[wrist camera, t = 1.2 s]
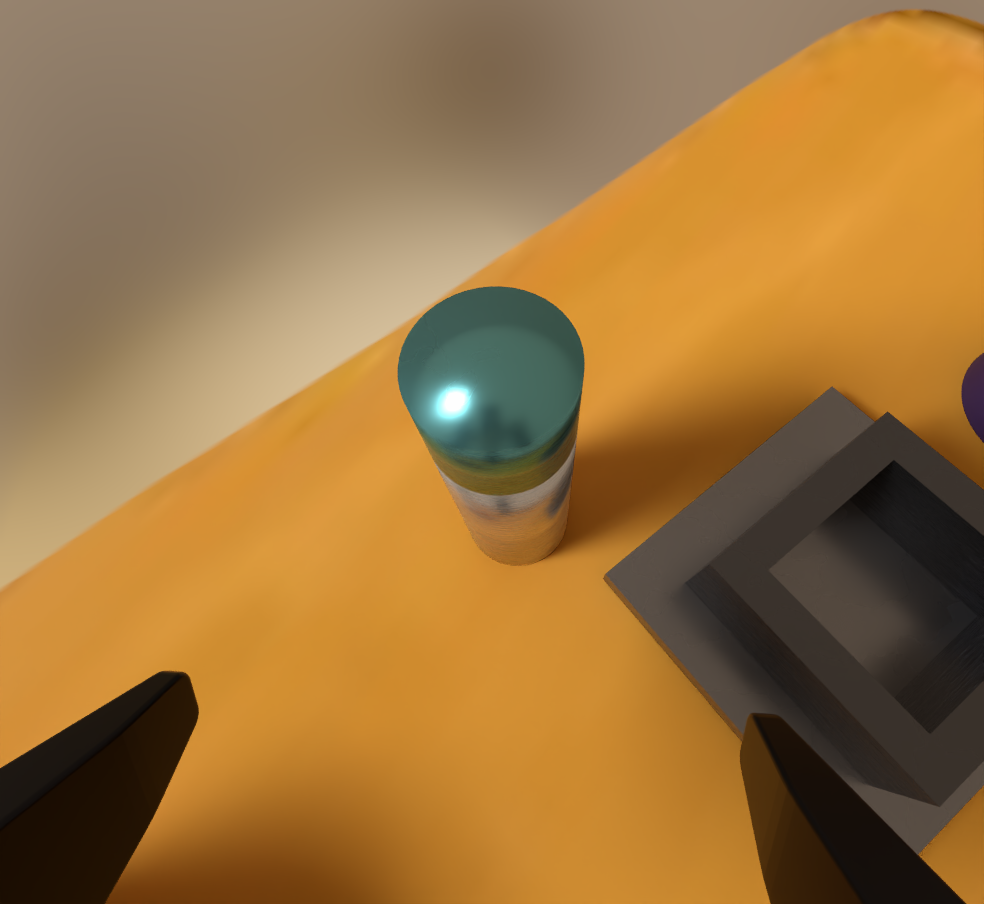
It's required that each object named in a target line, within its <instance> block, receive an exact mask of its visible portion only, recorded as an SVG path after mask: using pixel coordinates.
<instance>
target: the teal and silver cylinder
mask: <svg viewBox="0 0 984 904" xmlns="http://www.w3.org/2000/svg"><path fill="white" fill-rule="evenodd" d="M583 377H584V353H583V347H582V344H581V341H580V338H579V336H578V334H577V331H576V329H575V328H574V326H573V325H572V323H571V322H570V320H569V319H568V318H567V317H566V316H565V315H564V313H563V312H562V311H561V310H559V309H558V308H557V307H556V306H555V305H553V304H552V303H550V302H549V301H547V300H546V299H544V298H542V297H540V296H538V295H536V294H533V293H530V292H527V291H525V290H520V289H516V288H510V287H483V288H476V289H472V290H467V291H464V292H461V293H458V294H456V295H453V296H451V297H449V298H447V299H445V300H443V301H442V302H440V303H438V304H437V305H435V306H434V307H433V308H431V309H430V310H429V311H428V312H426V313H425V314H424V315H423V316H422V317H421V318H420V319H419V320H418V322H417V323H416V324H415V325H414V327H413V328H412V329H411V331H410V333H409V334H408V336H407V338H406V340H405V342H404V344H403V347H402V350H401V353H400V357H399V363H398V382H399V389H400V392H401V395H402V398H403V401H404V403H405V405H406V407H407V409H408V411H409V413H410V415H411V417H412V419H413V421H414V423H415V425H416V427H417V429H418V431H419V432H420V434H421V436H422V438H423V440H424V442H425V444H426V446H427V448H428V450H429V452H430V454H431V456H432V458H433V460H434V462H435V464H436V466H437V468H438V470H439V472H440V474H441V476H442V478H443V480H444V482H445V484H446V486H447V488H448V490H449V492H450V494H451V496H452V498H453V500H454V502H455V504H456V506H457V507H458V509H459V511H460V513H461V515H462V517H463V519H464V521H465V523H466V525H467V527H468V529H469V531H470V533H471V535H472V537H473V539H474V541H475V543H476V544H477V546H478V547H479V548H480V549H481V550H482V552H484V553H485V554H486V555H487V556H489V557H490V558H492V559H493V560H495V561H497V562H500V563H503V564H507V565H514V566H521V565H528V564H532V563H535V562H538V561H540V560H542V559H544V558H545V557H547V556H548V555H549V554H550V553H552V552H553V551H554V550H555V548H556V547H557V546H558V545H559V543H560V542H561V540H562V538H563V536H564V533H565V530H566V526H567V519H568V510H569V501H570V492H571V483H572V475H573V466H574V457H575V448H576V439H577V430H578V421H579V413H580V404H581V395H582V386H583Z"/></svg>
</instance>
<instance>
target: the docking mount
mask: <svg viewBox="0 0 984 904" xmlns="http://www.w3.org/2000/svg"><path fill="white" fill-rule="evenodd" d="M603 579H604V580H605V582H606V583H607V584H608V585H609V586H610V588H611V589H612V590H613V591H614V592H615V593H616V595H617V596H618V597H619V598H620V599H621V600H622V602H623V603H624V604H625V605H626V606H627V607H628V609H629V610H630V611H631V612H632V613H633V614H634V616H635V617H636V618H637V619H638V620H639V621H640V623H641V624H642V625H643V626H644V627H645V629H646V630H647V631H648V632H649V633H650V634H651V636H652V637H653V638H654V639H655V640H656V641H657V643H658V644H659V645H660V646H661V647H662V648H663V650H664V651H665V652H666V653H667V654H668V655H669V657H670V658H671V659H672V660H673V661H674V662H675V664H676V665H677V666H678V667H679V668H680V670H681V671H682V672H683V673H684V674H685V675H686V677H687V678H688V679H689V680H690V681H691V682H692V684H693V685H694V686H695V687H696V688H697V689H698V691H699V692H700V693H701V694H702V695H703V696H704V698H705V699H706V700H707V701H708V702H709V703H710V705H711V706H712V707H713V708H714V709H715V711H716V712H717V713H718V714H719V715H720V716H721V718H722V719H723V720H724V721H725V722H726V723H727V725H728V726H729V727H730V728H731V729H732V730H733V732H734V733H735V734H736V735H737V736H738V737H739V739H740V740H741V741H742V740H743V735H744V731H745V726H746V721H747V718H748V716H749V714H751V713H768V714H776V715H778V716H780V717H782V718H783V719H784V720H785V721H786V722H787V723H788V724H789V725H790V726H791V727H792V728H793V729H794V730H795V731H796V732H797V733H798V734H799V735H800V736H801V737H802V738H803V739H804V740H805V741H806V742H807V743H808V744H809V745H810V746H811V747H812V748H813V749H814V751H815V752H816V753H817V754H818V755H819V756H820V757H821V758H822V759H823V760H824V761H825V762H826V763H827V764H828V765H829V766H830V767H831V768H832V769H833V770H834V771H835V772H836V773H837V774H838V775H839V776H840V777H841V778H842V779H843V780H844V781H845V782H846V783H847V784H848V785H849V786H850V787H851V788H852V789H853V790H854V791H855V792H856V793H857V794H858V795H859V796H860V797H861V798H862V799H863V800H864V801H865V802H866V803H867V804H868V805H869V806H870V807H871V808H872V809H873V810H874V811H875V812H876V813H877V814H878V815H879V816H880V817H881V818H882V819H883V820H884V821H885V822H886V823H887V824H888V825H889V826H890V827H891V828H892V829H893V830H894V831H895V832H896V833H897V834H898V835H899V836H900V837H901V838H902V839H903V840H904V841H905V842H906V843H907V844H908V845H909V846H910V847H911V848H912V849H913V850H914V852H915V853H916V854H917V855H918V854H919V853H920V852H921V851H922V850H923V849H924V848H925V847H926V845H927V844H928V843H929V842H930V841H931V840H932V839H933V838H934V837H935V836H936V835H937V834H938V833H939V832H940V831H941V830H942V829H943V828H944V826H945V825H946V824H947V823H948V822H949V821H950V820H951V819H952V818H953V817H954V816H955V815H956V814H957V813H958V812H959V811H960V810H961V809H962V808H963V806H964V805H965V804H966V803H967V802H968V801H969V800H970V799H971V798H972V797H973V796H974V795H975V794H976V793H977V792H978V791H979V790H980V789H981V788H982V786H983V785H984V490H983V489H982V488H981V487H979V486H978V485H977V484H976V483H974V482H973V481H972V480H971V479H970V478H968V477H967V476H966V475H965V474H963V473H962V472H961V471H960V470H959V469H957V468H956V467H955V466H954V465H952V464H951V463H950V462H949V461H948V460H946V459H945V458H944V457H943V456H941V455H940V454H939V453H938V452H936V451H935V450H934V449H933V448H932V447H930V446H929V445H928V444H927V443H925V442H924V441H923V440H922V439H921V438H919V437H918V436H917V435H916V434H914V433H913V432H912V431H911V430H910V429H908V428H907V427H906V426H905V425H903V424H902V423H901V422H900V421H898V420H897V419H896V418H895V417H894V416H892V415H891V414H890V413H889V412H886V413H885V414H884V415H883V416H882V417H880V418H879V419H878V420H877V421H875V422H874V421H873V420H872V419H871V418H869V417H868V416H867V415H866V414H865V413H863V412H862V411H861V410H860V409H859V408H857V407H856V406H855V405H854V404H853V403H851V402H850V401H849V400H848V399H847V398H845V397H844V396H843V395H842V394H841V393H839V392H838V391H837V390H836V389H835V388H833V387H831V388H830V389H828V390H827V391H826V392H825V393H824V394H822V395H821V396H820V397H819V398H818V399H816V400H815V401H814V402H813V403H812V404H810V405H809V406H808V407H807V408H805V409H804V410H803V411H802V412H801V413H799V414H798V415H797V416H796V417H795V418H793V419H792V420H791V421H790V422H789V423H787V424H786V425H785V426H784V427H783V428H781V429H780V430H779V431H778V432H776V433H775V434H774V435H773V436H772V437H770V438H769V439H768V440H767V441H766V442H764V443H763V444H762V445H761V446H760V447H758V448H757V449H756V450H755V451H754V452H752V453H751V454H750V455H749V456H747V457H746V458H745V459H744V460H743V461H741V462H740V463H739V464H738V465H737V466H735V467H734V468H733V469H732V470H731V471H729V472H728V473H727V474H726V475H725V476H723V477H722V478H721V479H720V480H718V481H717V482H716V483H715V484H714V485H712V486H711V487H710V488H709V489H708V490H706V491H705V492H704V493H703V494H702V495H700V496H699V497H698V498H697V499H695V500H694V501H693V502H692V503H691V504H689V505H688V506H687V507H686V508H685V509H683V510H682V511H681V512H680V513H679V514H677V515H676V516H675V517H674V518H673V519H671V520H670V521H669V522H668V523H666V524H665V525H664V526H663V527H662V528H660V529H659V530H658V531H657V532H656V533H654V534H653V535H652V536H651V537H650V538H648V539H647V540H646V541H645V542H644V543H642V544H641V545H640V546H639V547H637V548H636V549H635V550H634V551H633V552H631V553H630V554H629V555H628V556H627V557H625V558H624V559H623V560H622V561H621V562H619V563H618V564H617V565H616V566H615V567H613V568H612V569H611V570H610V571H608V572H607V573H606V574H605V576H604V578H603Z"/></svg>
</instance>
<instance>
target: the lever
mask: <svg viewBox="0 0 984 904" xmlns="http://www.w3.org/2000/svg"><path fill="white" fill-rule="evenodd" d="M962 403H963V407H964V411H965V414H966V416H967V419H968V421H969V423H970V425H971V427H972V428H973V430H974V431H975V433H976V434H977V435H978V437H979V438H980V439H981V440H982V442H983V443H984V353H983V354H981V355H980V356H979V357H978V358H976V359H975V361H974V362H973V363H972V364H971V365H970V367H969V368H968V370H967V372H966V374H965V376H964V380H963V384H962Z"/></svg>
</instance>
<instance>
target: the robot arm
mask: <svg viewBox="0 0 984 904" xmlns="http://www.w3.org/2000/svg"><path fill="white" fill-rule="evenodd" d="M198 714H199V708H198V704H197V700H196V697H195V694H194V690H193V687H192V683H191V680H190V677H189V676H188V675H187V674H186V673H184V672H177V671H161V672H159V673H157V674H155V675H153V676H152V677H150V678H148V679H147V680H145V681H143V682H142V683H140V684H138V685H137V686H135V687H133V688H132V689H130V690H129V691H127V692H125V693H124V694H122V695H120V696H119V697H117V698H115V699H114V700H112V701H110V702H109V703H107V704H105V705H104V706H102V707H100V708H99V709H97V710H96V711H94V712H92V713H91V714H89V715H87V716H86V717H84V718H82V719H81V720H79V721H77V722H76V723H74V724H72V725H71V726H69V727H67V728H66V729H64V730H62V731H61V732H59V733H58V734H56V735H54V736H53V737H51V738H49V739H48V740H46V741H44V742H43V743H41V744H39V745H38V746H36V747H34V748H33V749H31V750H29V751H28V752H26V753H25V754H23V755H21V756H20V757H18V758H16V759H15V760H13V761H11V762H10V763H8V764H6V765H5V766H3V767H1V768H0V904H105V902H106V901H107V899H108V897H109V895H110V894H111V892H112V890H113V888H114V887H115V885H116V883H117V881H118V879H119V878H120V876H121V874H122V872H123V871H124V869H125V867H126V865H127V864H128V862H129V860H130V858H131V856H132V855H133V853H134V851H135V849H136V848H137V846H138V844H139V842H140V841H141V839H142V837H143V835H144V833H145V832H146V830H147V828H148V826H149V824H150V822H151V820H152V819H153V817H154V815H155V813H156V811H157V809H158V806H159V804H160V802H161V800H162V798H163V796H164V794H165V791H166V789H167V787H168V785H169V783H170V780H171V778H172V776H173V774H174V772H175V769H176V767H177V765H178V763H179V761H180V758H181V756H182V754H183V752H184V750H185V747H186V745H187V743H188V741H189V739H190V736H191V734H192V732H193V730H194V728H195V725H196V723H197V719H198ZM740 764H741V770H742V775H743V780H744V785H745V790H746V795H747V800H748V805H749V810H750V815H751V820H752V825H753V830H754V835H755V840H756V845H757V850H758V855H759V860H760V865H761V869H762V874H763V878H764V882H765V885H766V889H767V893H768V896H769V900H770V903H771V904H966V903H965V902H964V901H963V900H962V899H961V898H960V897H959V896H958V895H957V894H956V893H955V892H954V891H953V890H952V889H951V888H950V887H949V886H948V885H947V884H946V883H945V882H944V881H943V880H942V879H941V878H940V877H939V876H938V875H937V874H936V873H935V872H934V871H933V870H932V869H931V868H930V867H929V866H928V865H927V864H926V863H925V862H924V861H923V860H922V859H921V858H920V857H919V856H918V855H917V854H916V853H915V852H914V850H913V849H912V848H911V847H910V846H909V845H908V844H907V843H906V842H905V841H904V840H903V839H902V838H901V837H900V836H899V835H898V834H897V833H896V832H895V831H894V830H893V829H892V828H891V827H890V826H889V825H888V824H887V823H886V822H885V821H884V820H883V819H882V818H881V817H880V816H879V815H878V814H877V813H876V812H875V811H874V810H873V809H872V808H871V807H870V806H869V805H868V804H867V803H866V802H865V801H864V800H863V799H862V798H861V797H860V796H859V795H858V794H857V793H856V792H855V791H854V790H853V789H852V788H851V787H850V786H849V785H848V784H847V783H846V782H845V781H844V780H843V779H842V778H841V777H840V776H839V775H838V774H837V773H836V772H835V771H834V770H833V769H832V768H831V767H830V766H829V765H828V764H827V763H826V762H825V761H824V760H823V759H822V758H821V757H820V756H819V755H818V754H817V753H816V752H815V751H814V749H813V748H812V747H811V746H810V745H809V744H808V743H807V742H806V741H805V740H804V739H803V738H802V737H801V736H800V735H799V734H798V733H797V732H796V731H795V730H794V729H793V728H792V727H791V726H790V725H789V724H788V723H787V722H786V721H785V720H784V719H783V718H782V717H780V716H778V715H776V714H768V713H751V714H749V716H748V718H747V721H746V726H745V731H744V735H743V740H742V745H741V750H740Z"/></svg>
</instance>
